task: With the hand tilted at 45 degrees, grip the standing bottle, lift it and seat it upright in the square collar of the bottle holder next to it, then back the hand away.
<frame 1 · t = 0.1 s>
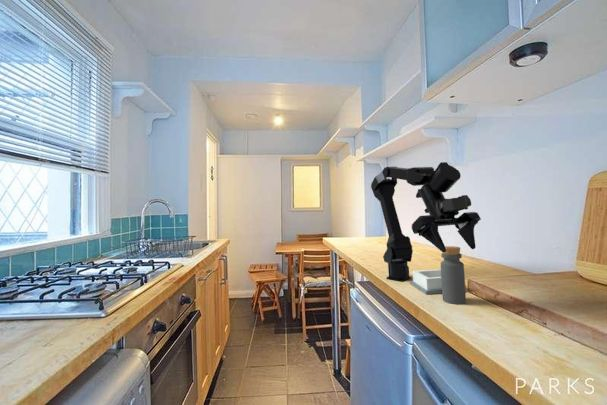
hand: (459, 250, 76), 15 cm above the counter, tool tilted 35°, fingers open, 9 cm apart
holder: (435, 287, 93), on the counter
bottle: (454, 301, 80), on the counter
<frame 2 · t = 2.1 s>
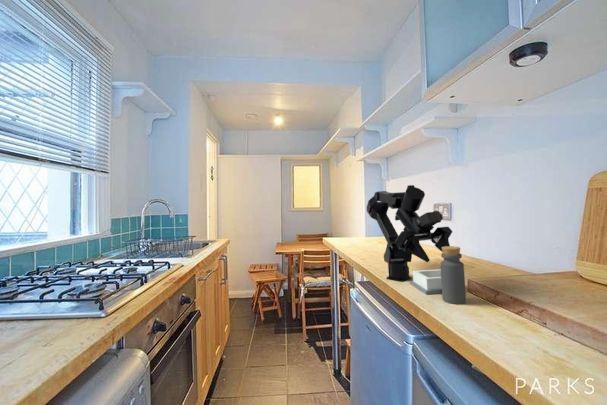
hand: (440, 259, 84), 11 cm above the counter, tool tilted 45°, fingers open, 9 cm apart
nothing on the counter moved.
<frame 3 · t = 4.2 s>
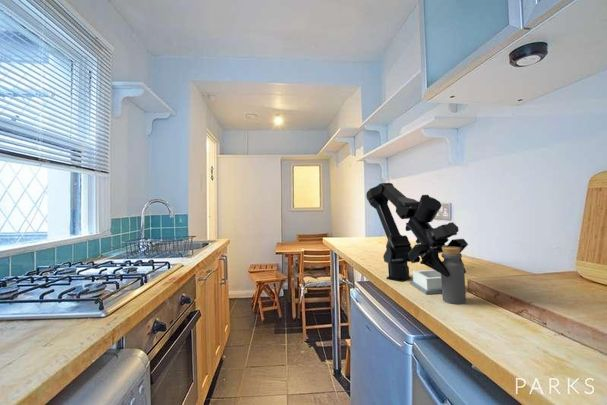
hand: (456, 274, 79), 8 cm above the counter, tool tilted 45°, fingers closed on bottle, 6 cm apart
bottle: (454, 301, 80), on the counter, touching gripper
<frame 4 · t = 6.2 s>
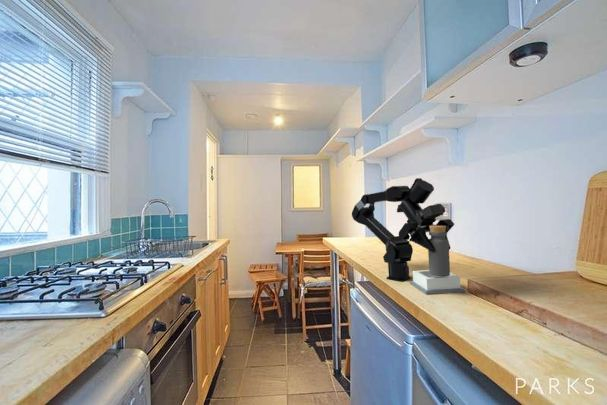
hand: (441, 250, 87), 13 cm above the counter, tool tilted 45°, fingers closed on bottle, 6 cm apart
bottle: (439, 274, 89), point 5 cm above the counter, touching gripper
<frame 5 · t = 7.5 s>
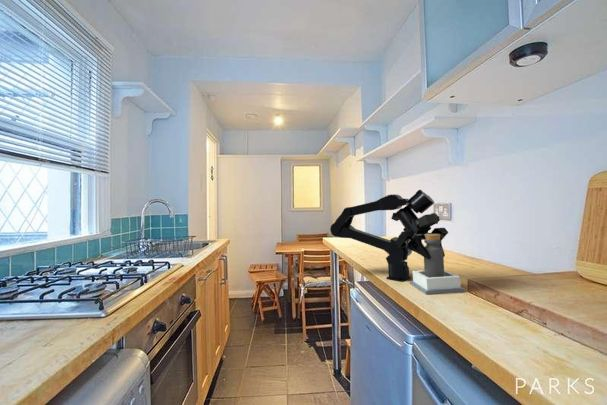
hand: (436, 257, 92), 10 cm above the counter, tool tilted 45°, fingers closed on bottle, 6 cm apart
bottle: (434, 280, 93), point 2 cm above the counter, touching gripper
when the fingers open (10 cm above the counter, at t = 8.3 s): bottle drops 1 cm, resting on holder.
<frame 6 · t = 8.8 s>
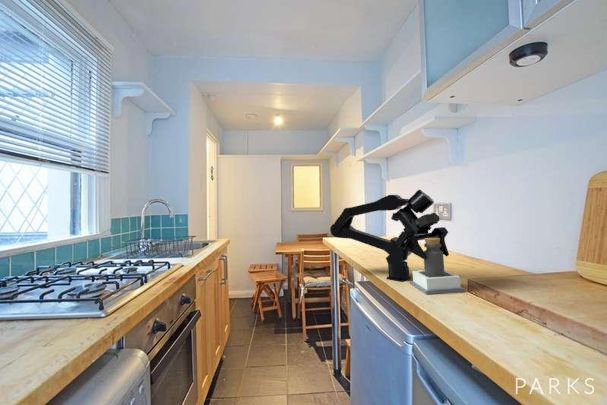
hand: (437, 257, 92), 10 cm above the counter, tool tilted 45°, fingers open, 9 cm apart
bottle: (435, 284, 93), point 1 cm above the counter, touching holder
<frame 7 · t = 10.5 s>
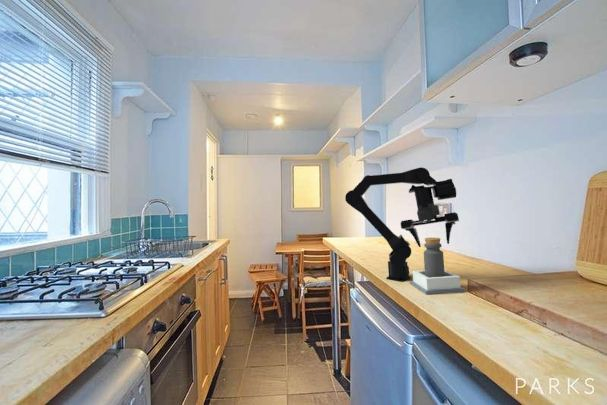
hand: (433, 245, 100), 13 cm above the counter, tool pointing down, fingers open, 9 cm apart
nothing on the counter moved.
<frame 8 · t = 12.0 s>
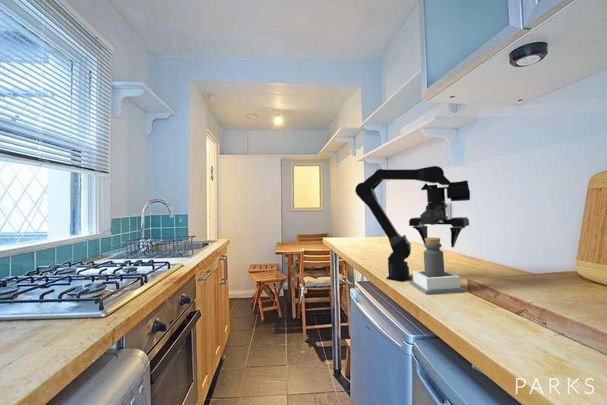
hand: (438, 246, 101), 12 cm above the counter, tool pointing down, fingers open, 9 cm apart
nothing on the counter moved.
at the end: bottle 0.1 cm off-centre on the holder, point 0.8 cm above the holder's base; bottle tilted 0°; the gripper is holding nothing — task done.
